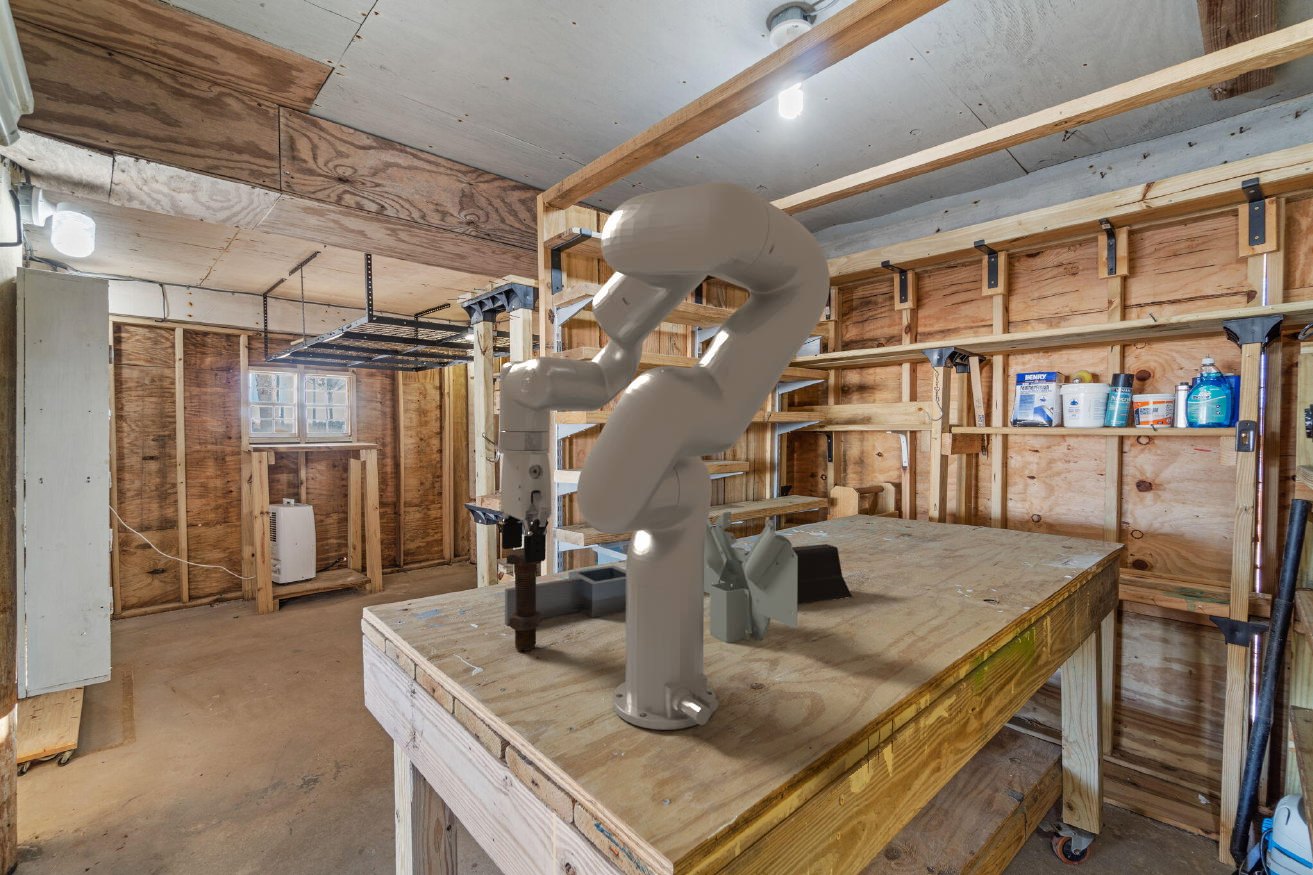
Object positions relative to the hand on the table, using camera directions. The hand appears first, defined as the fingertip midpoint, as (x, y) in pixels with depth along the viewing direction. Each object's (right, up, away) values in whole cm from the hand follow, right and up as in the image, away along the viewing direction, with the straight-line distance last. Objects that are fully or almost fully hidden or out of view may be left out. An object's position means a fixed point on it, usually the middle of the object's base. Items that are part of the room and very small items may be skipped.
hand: (522, 554), depth 86 cm
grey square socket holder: (+10, -14, +21) cm, 27 cm away
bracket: (+33, -15, +6) cm, 37 cm away
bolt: (0, -15, 0) cm, 15 cm away
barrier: (+48, -15, +26) cm, 56 cm away
